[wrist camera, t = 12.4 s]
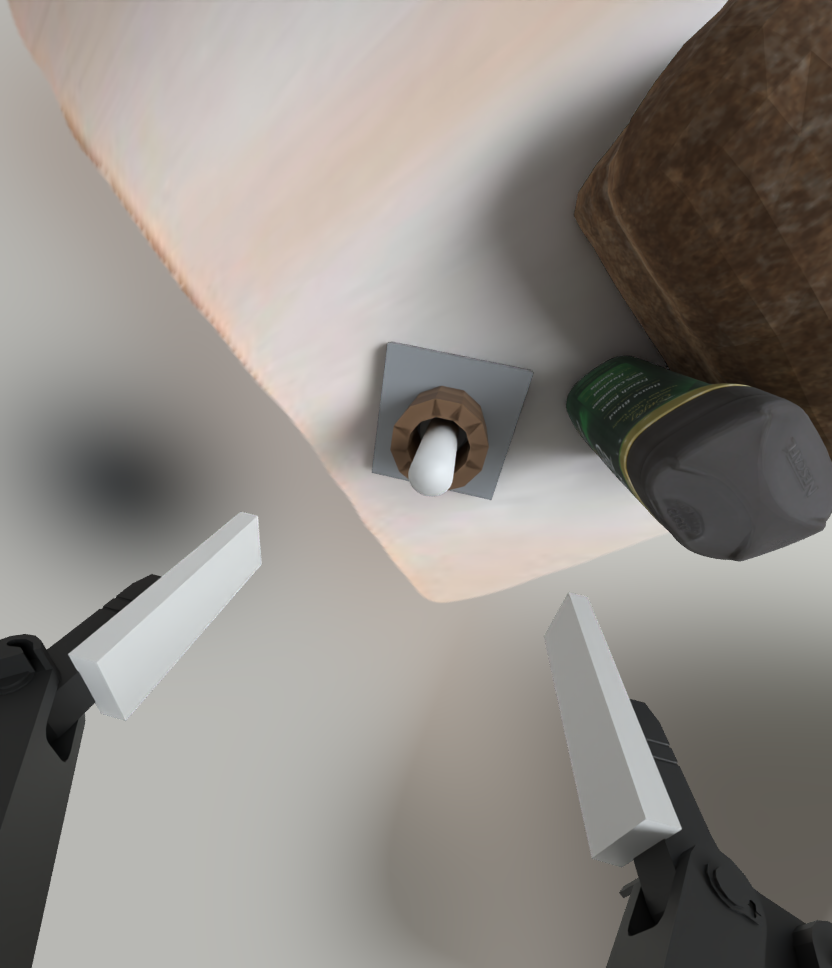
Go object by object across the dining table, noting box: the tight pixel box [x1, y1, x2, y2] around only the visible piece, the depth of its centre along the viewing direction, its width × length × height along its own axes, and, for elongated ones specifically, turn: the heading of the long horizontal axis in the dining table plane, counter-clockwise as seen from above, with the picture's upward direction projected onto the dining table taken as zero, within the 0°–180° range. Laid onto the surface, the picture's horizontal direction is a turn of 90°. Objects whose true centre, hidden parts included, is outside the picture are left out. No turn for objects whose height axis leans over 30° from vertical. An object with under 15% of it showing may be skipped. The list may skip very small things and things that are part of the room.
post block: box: [372, 342, 533, 500], centre depth 29 cm, size 14×14×14 cm
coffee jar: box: [566, 356, 832, 561], centre depth 24 cm, size 10×8×19 cm
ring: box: [390, 386, 489, 491], centre depth 31 cm, size 8×8×6 cm
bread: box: [574, 0, 832, 462], centre depth 20 cm, size 15×32×16 cm, turn 44°
